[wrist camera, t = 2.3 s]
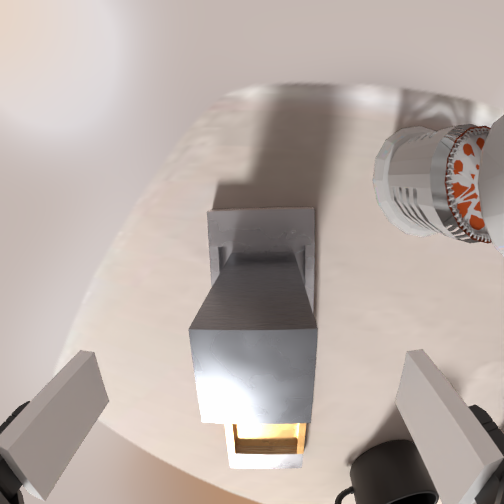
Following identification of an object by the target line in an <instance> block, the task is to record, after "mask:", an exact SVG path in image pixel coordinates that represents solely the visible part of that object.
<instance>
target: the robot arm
mask: <svg viewBox="0 0 504 504" xmlns="http://www.w3.org/2000/svg"><path fill="white" fill-rule="evenodd" d="M108 402H109V399H108V396H107V393H106V390H105V387H104V383H103V380H102V377H101V374H100V370H99V367H98V363H97V360H96V356H95V353H94V352H89V351H82V350H81V351H79V352H78V353H77V354H76V355H75V356H74V357H73V358H72V359H71V360H70V361H69V362H68V363H67V365H66V366H65V367H64V368H63V369H62V370H61V371H60V372H59V373H58V374H57V375H56V376H55V377H54V378H53V379H52V380H51V381H50V382H49V383H48V384H47V385H46V386H45V387H44V388H43V389H42V390H41V391H40V392H39V393H38V394H37V396H35V398H34V399H33V400H32V401H31V402H30V401H28V402H26V403H24V404H23V405H21V406H19V407H18V408H17V409H16V410H15V411H14V412H13V413H12V416H9V417H8V419H7V420H6V422H4V423H3V424H2V425H1V426H0V504H24V501H23V495H22V493H21V491H20V490H19V488H20V487H21V486H22V485H23V486H24V487H25V489H26V490H27V491H28V492H29V494H31V495H33V496H35V497H37V498H39V499H41V500H43V501H45V500H46V499H47V497H48V496H49V494H50V492H51V491H52V489H53V488H54V486H55V484H56V483H57V481H58V480H59V478H60V476H61V475H62V473H63V472H64V470H65V468H66V467H67V465H68V464H69V462H70V460H71V459H72V457H73V456H74V454H75V453H76V451H77V449H78V448H79V446H80V445H81V443H82V442H83V440H84V439H85V437H86V436H87V434H88V432H89V431H90V429H91V428H92V426H93V425H94V423H95V422H96V420H97V419H98V417H99V416H100V414H101V413H102V411H103V410H104V408H105V407H106V405H107V404H108ZM395 404H396V406H397V408H398V410H399V412H400V414H401V416H402V418H403V420H404V422H405V424H406V426H407V428H408V430H409V432H410V434H411V436H412V438H413V440H414V442H415V444H416V447H417V449H418V451H419V453H420V455H421V457H422V459H423V461H424V464H425V466H426V468H427V470H428V472H429V474H430V477H431V479H432V481H433V483H434V486H435V488H436V490H437V492H438V495H439V497H440V499H441V501H442V504H471V503H472V502H473V500H474V499H475V501H476V503H477V504H504V434H503V433H502V431H501V430H500V429H498V426H497V425H496V424H495V422H493V420H492V418H491V417H490V416H489V415H488V413H487V412H486V411H485V410H483V409H482V408H480V407H478V406H477V405H472V406H469V407H468V406H467V405H466V403H465V402H464V401H463V399H462V398H461V397H460V396H459V394H458V393H457V392H456V390H455V389H454V388H453V387H452V385H451V384H450V383H449V381H448V380H447V379H446V378H445V376H444V375H443V374H442V373H441V371H440V370H439V369H438V368H437V366H436V365H435V364H434V363H433V361H432V360H431V359H430V358H429V356H428V355H427V354H426V353H425V352H424V350H423V349H421V350H414V351H407V353H406V358H405V363H404V367H403V372H402V376H401V381H400V385H399V389H398V393H397V397H396V400H395Z"/></svg>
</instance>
